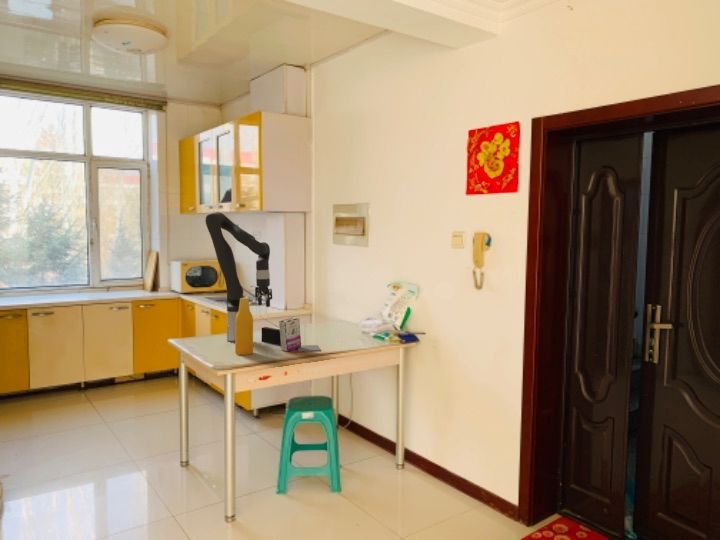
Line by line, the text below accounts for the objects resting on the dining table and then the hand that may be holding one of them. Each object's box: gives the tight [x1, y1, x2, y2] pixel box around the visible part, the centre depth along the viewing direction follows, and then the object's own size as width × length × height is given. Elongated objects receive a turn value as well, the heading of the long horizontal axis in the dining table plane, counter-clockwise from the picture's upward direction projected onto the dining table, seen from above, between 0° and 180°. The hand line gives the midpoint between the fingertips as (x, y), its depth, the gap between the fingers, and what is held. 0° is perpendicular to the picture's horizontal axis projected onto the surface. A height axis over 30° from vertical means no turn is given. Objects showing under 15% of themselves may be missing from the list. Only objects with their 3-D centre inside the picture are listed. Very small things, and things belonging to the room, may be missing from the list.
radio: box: [259, 315, 281, 347], centre depth 300 cm, size 19×3×15 cm, turn 56°
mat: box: [296, 344, 322, 353], centre depth 288 cm, size 12×12×1 cm
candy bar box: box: [278, 316, 302, 352], centre depth 285 cm, size 11×5×16 cm, turn 143°
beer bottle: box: [234, 297, 254, 356], centre depth 274 cm, size 9×9×29 cm
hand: (264, 305), depth 299 cm, fingers open, 8 cm apart
